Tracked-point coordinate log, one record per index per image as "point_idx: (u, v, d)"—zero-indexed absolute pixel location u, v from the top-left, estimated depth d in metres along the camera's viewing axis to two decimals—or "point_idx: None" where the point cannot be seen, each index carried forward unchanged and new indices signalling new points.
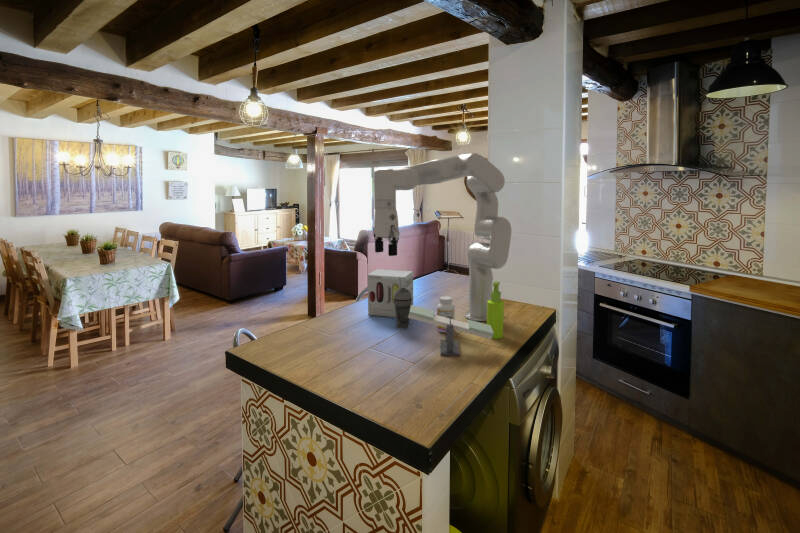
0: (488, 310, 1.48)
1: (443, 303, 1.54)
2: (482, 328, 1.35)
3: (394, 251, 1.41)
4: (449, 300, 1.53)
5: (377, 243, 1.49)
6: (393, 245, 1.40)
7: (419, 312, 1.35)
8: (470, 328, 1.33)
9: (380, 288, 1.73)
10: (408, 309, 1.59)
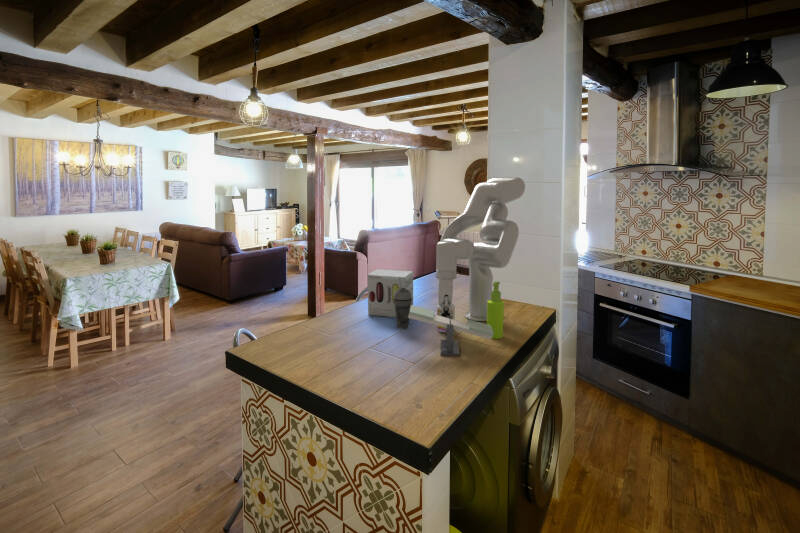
0: (488, 310, 1.48)
1: (443, 303, 1.54)
2: (482, 328, 1.35)
3: None
4: None
5: None
6: None
7: (419, 312, 1.35)
8: (470, 328, 1.33)
9: (380, 288, 1.73)
10: (408, 309, 1.59)
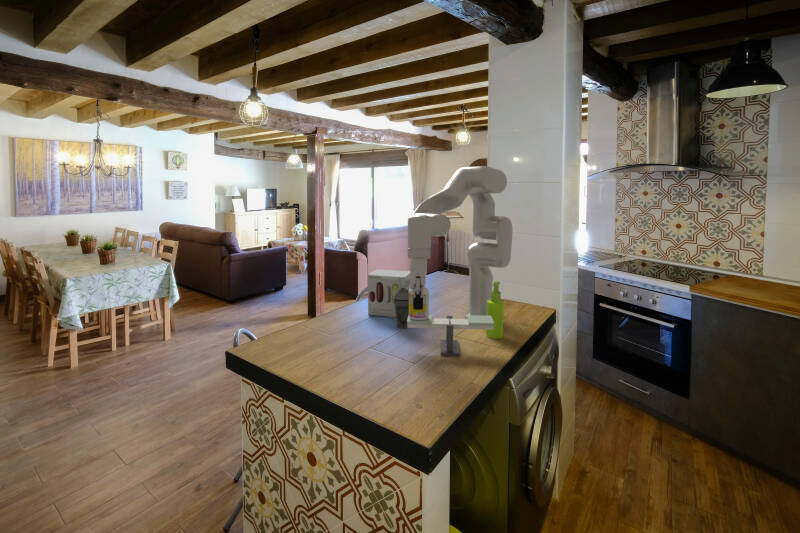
0: (488, 310, 1.48)
1: (415, 286, 1.34)
2: (482, 321, 1.34)
3: None
4: None
5: None
6: None
7: None
8: (470, 323, 1.33)
9: (380, 288, 1.73)
10: (408, 309, 1.59)
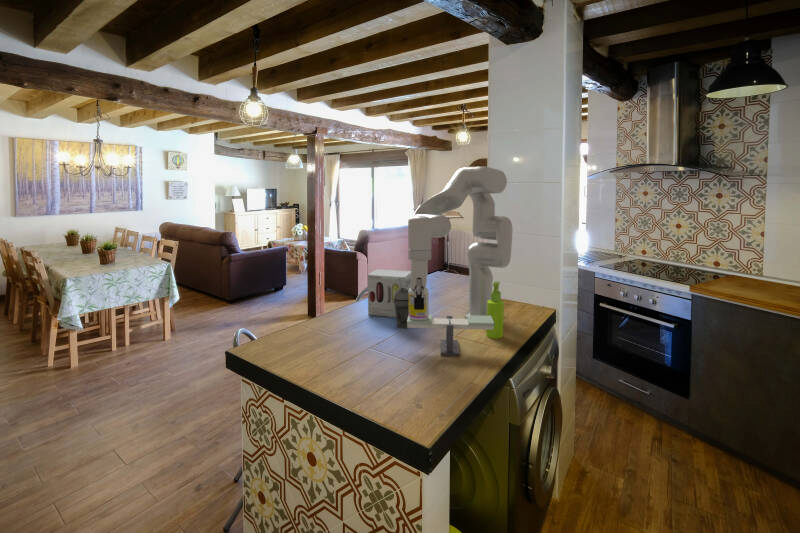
0: (488, 310, 1.48)
1: None
2: (482, 321, 1.34)
3: None
4: None
5: None
6: None
7: None
8: (470, 323, 1.33)
9: (380, 288, 1.73)
10: (408, 309, 1.59)
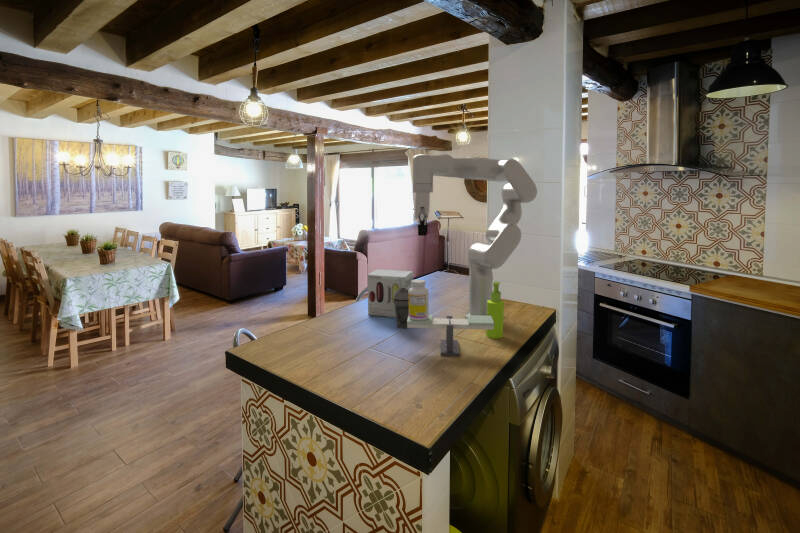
0: (488, 310, 1.48)
1: (415, 287, 1.34)
2: (482, 321, 1.34)
3: None
4: (422, 283, 1.33)
5: None
6: None
7: None
8: (470, 323, 1.33)
9: (380, 288, 1.73)
10: (408, 309, 1.59)
